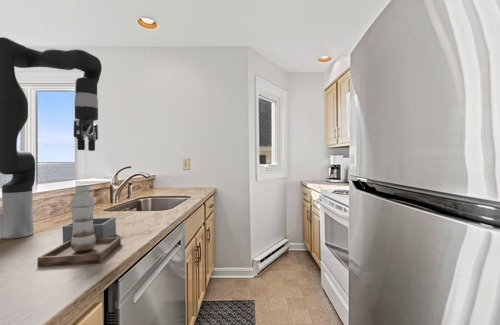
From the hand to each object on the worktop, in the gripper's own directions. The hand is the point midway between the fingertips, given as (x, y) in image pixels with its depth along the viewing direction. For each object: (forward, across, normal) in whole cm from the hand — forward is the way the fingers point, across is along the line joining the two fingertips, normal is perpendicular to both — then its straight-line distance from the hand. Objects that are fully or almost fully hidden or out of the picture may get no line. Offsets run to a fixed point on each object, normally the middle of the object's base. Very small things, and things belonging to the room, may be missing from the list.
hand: (86, 150), depth 106 cm
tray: (+32, +20, +8) cm, 39 cm away
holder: (+33, +2, +3) cm, 33 cm away
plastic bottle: (+32, +20, +8) cm, 38 cm away
